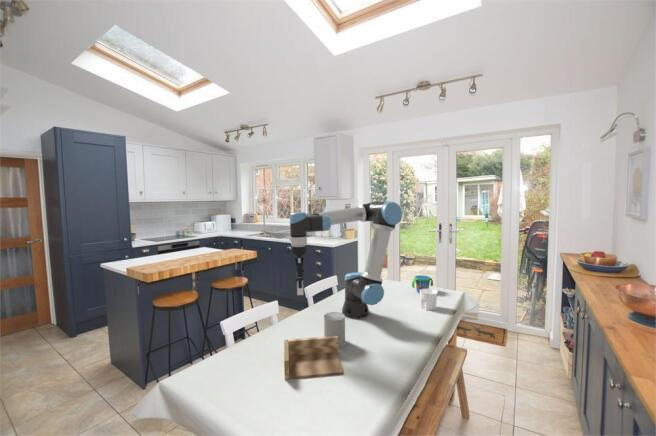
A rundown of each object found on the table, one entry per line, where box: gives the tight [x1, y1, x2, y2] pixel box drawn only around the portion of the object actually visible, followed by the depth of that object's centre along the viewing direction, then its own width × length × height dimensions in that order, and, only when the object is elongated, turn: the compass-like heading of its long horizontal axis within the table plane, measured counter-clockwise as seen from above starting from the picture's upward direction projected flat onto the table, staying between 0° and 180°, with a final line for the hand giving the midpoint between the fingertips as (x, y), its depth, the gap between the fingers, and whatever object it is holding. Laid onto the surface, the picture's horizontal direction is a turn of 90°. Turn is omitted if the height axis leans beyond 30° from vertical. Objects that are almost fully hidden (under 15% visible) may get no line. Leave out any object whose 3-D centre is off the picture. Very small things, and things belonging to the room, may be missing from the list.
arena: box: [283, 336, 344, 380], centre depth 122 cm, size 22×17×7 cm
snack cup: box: [411, 274, 434, 293], centre depth 211 cm, size 16×10×10 cm
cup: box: [419, 288, 438, 311], centre depth 181 cm, size 10×10×10 cm
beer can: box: [323, 311, 346, 348], centre depth 140 cm, size 10×10×12 cm
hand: (300, 290), depth 145 cm, fingers open, 13 cm apart
